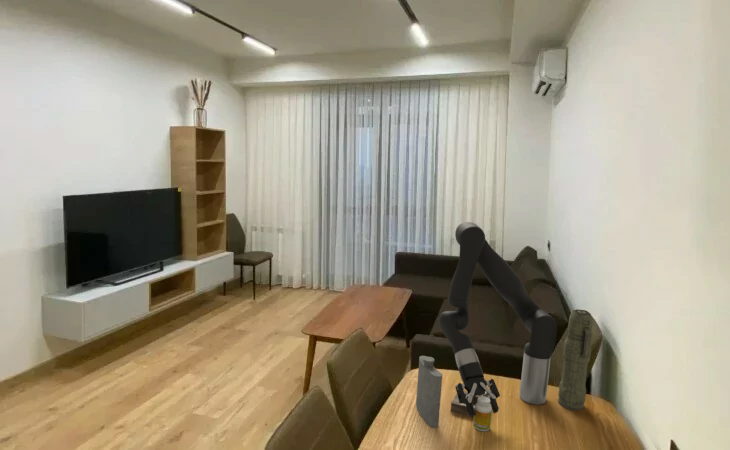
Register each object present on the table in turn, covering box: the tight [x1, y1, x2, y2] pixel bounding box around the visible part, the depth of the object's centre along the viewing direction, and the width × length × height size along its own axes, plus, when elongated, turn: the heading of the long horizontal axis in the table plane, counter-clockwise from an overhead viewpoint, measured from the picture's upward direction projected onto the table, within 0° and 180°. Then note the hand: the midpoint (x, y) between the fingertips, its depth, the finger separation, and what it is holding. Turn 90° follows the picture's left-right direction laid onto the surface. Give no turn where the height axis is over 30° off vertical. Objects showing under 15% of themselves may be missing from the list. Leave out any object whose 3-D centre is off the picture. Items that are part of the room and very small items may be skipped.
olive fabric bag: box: [557, 309, 593, 411], centre depth 167 cm, size 9×12×35 cm
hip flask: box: [415, 355, 443, 429], centre depth 155 cm, size 16×4×20 cm, turn 12°
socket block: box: [450, 390, 483, 418], centre depth 162 cm, size 11×11×3 cm
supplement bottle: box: [472, 395, 493, 432], centre depth 150 cm, size 5×5×10 cm
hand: (485, 414), depth 149 cm, fingers open, 8 cm apart
